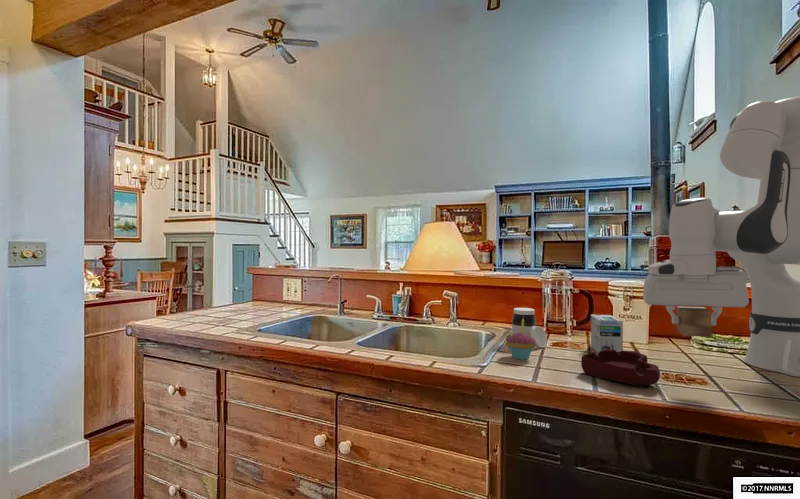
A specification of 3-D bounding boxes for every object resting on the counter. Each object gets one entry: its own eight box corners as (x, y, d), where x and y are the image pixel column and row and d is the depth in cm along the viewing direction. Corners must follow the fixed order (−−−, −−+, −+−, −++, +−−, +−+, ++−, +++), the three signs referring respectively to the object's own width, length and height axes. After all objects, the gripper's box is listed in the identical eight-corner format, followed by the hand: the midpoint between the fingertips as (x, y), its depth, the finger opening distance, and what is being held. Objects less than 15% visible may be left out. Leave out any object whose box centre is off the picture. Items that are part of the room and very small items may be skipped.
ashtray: (577, 364, 112) (577, 346, 112) (643, 369, 107) (643, 351, 107) (585, 385, 96) (585, 364, 95) (664, 393, 90) (664, 371, 90)
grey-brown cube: (704, 331, 96) (703, 306, 96) (711, 337, 91) (711, 311, 91) (676, 330, 98) (676, 306, 98) (682, 335, 93) (682, 310, 93)
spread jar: (515, 338, 141) (515, 306, 141) (548, 342, 136) (548, 308, 136) (508, 346, 131) (508, 311, 130) (545, 350, 126) (545, 314, 126)
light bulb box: (623, 356, 119) (623, 320, 119) (599, 355, 120) (599, 320, 120) (612, 347, 129) (612, 314, 129) (589, 346, 131) (589, 313, 130)
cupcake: (511, 352, 124) (511, 313, 124) (539, 356, 119) (539, 316, 119) (501, 358, 117) (501, 318, 117) (530, 363, 112) (530, 321, 112)
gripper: (741, 265, 93) (742, 323, 93) (641, 265, 101) (642, 319, 101) (753, 267, 87) (754, 329, 88) (645, 267, 95) (646, 325, 95)
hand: (693, 324), depth 94 cm, fingers closed on grey-brown cube, 5 cm apart
